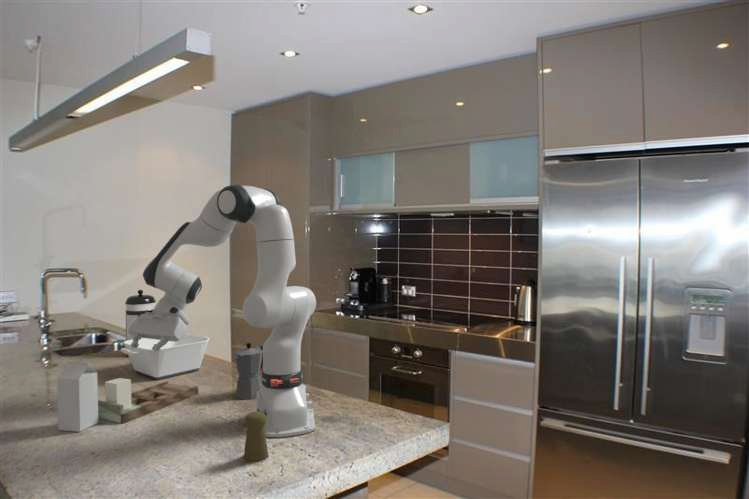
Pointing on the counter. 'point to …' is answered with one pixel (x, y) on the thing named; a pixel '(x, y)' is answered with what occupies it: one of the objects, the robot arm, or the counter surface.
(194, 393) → the box
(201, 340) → the tub
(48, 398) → the counter surface
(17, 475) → the counter surface
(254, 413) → the olive tapered knob-topped piece
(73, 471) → the counter surface
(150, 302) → the coffee press
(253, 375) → the coffeepot
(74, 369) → the milk carton
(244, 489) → the counter surface
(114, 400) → the cream block
